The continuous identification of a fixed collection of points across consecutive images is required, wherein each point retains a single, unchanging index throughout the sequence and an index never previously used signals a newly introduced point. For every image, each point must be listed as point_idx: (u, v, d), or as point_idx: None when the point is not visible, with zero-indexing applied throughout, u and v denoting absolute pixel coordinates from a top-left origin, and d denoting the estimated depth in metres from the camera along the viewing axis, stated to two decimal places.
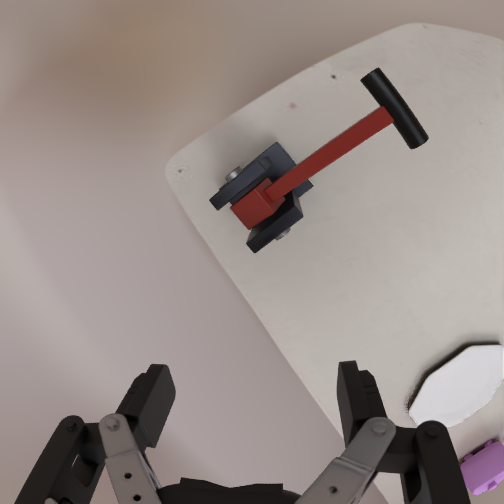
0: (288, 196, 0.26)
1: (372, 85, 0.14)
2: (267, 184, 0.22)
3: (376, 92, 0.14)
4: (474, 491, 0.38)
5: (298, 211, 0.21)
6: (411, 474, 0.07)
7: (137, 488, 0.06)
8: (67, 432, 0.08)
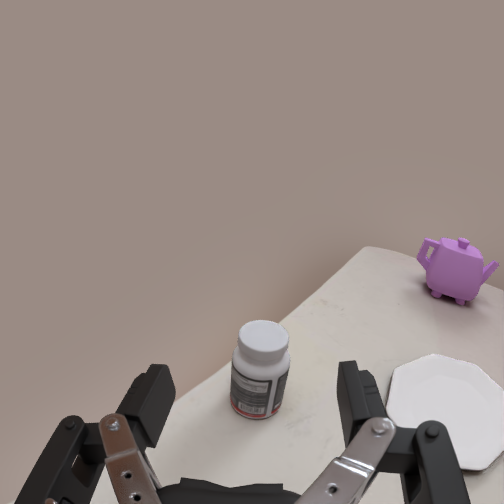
0: None
1: None
2: None
3: None
4: (481, 256, 0.50)
5: None
6: (411, 474, 0.07)
7: (137, 488, 0.06)
8: (67, 432, 0.08)
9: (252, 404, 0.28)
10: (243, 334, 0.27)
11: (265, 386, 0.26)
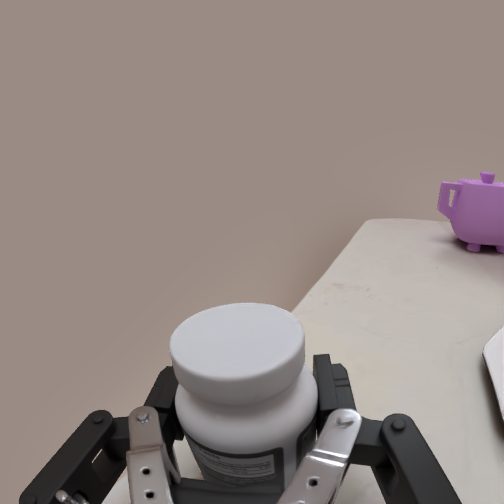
0: None
1: None
2: None
3: None
4: None
5: None
6: (384, 467, 0.08)
7: (152, 485, 0.06)
8: (94, 427, 0.09)
9: None
10: (180, 341, 0.10)
11: (267, 463, 0.09)
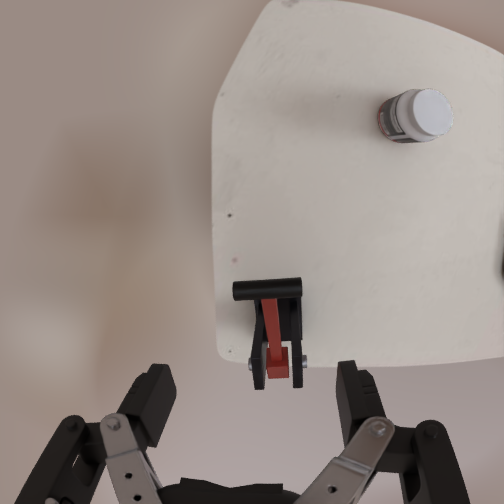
0: None
1: None
2: (270, 353, 0.30)
3: None
4: None
5: (296, 356, 0.28)
6: (410, 474, 0.08)
7: (138, 488, 0.06)
8: (68, 432, 0.08)
9: (386, 124, 0.29)
10: (422, 94, 0.22)
11: (399, 130, 0.27)
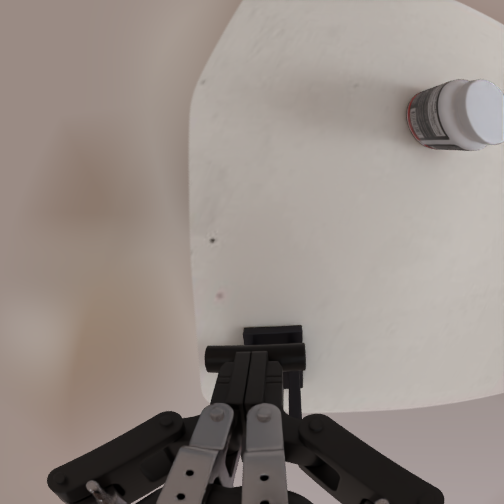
0: None
1: None
2: None
3: None
4: None
5: None
6: (316, 467, 0.09)
7: (188, 488, 0.06)
8: (158, 428, 0.09)
9: (419, 123, 0.21)
10: (477, 87, 0.13)
11: (440, 133, 0.18)
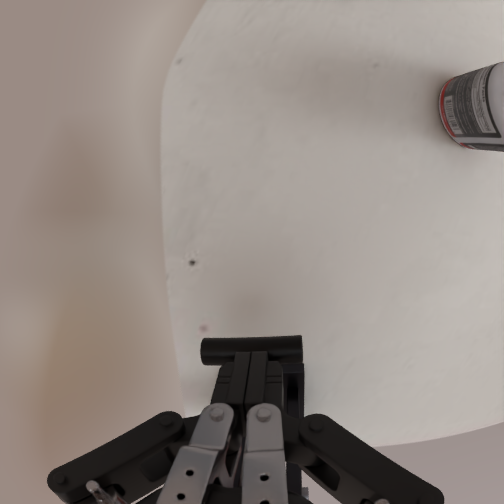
0: None
1: (214, 362, 0.14)
2: None
3: (223, 363, 0.14)
4: None
5: None
6: (316, 467, 0.09)
7: (188, 488, 0.06)
8: (158, 428, 0.09)
9: (458, 115, 0.15)
10: None
11: (489, 129, 0.12)
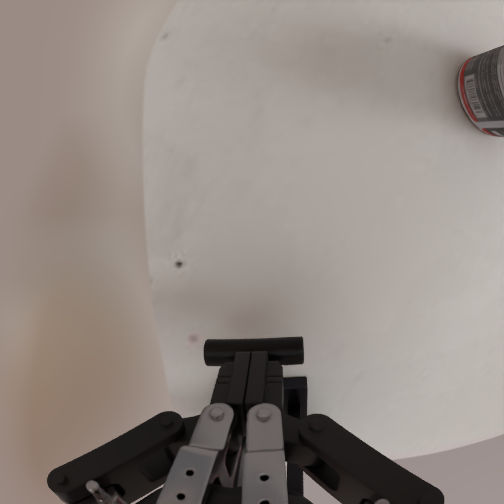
0: (287, 468, 0.16)
1: (216, 359, 0.15)
2: None
3: (225, 360, 0.15)
4: None
5: None
6: (316, 467, 0.09)
7: (188, 488, 0.06)
8: (158, 429, 0.09)
9: (482, 96, 0.12)
10: None
11: None
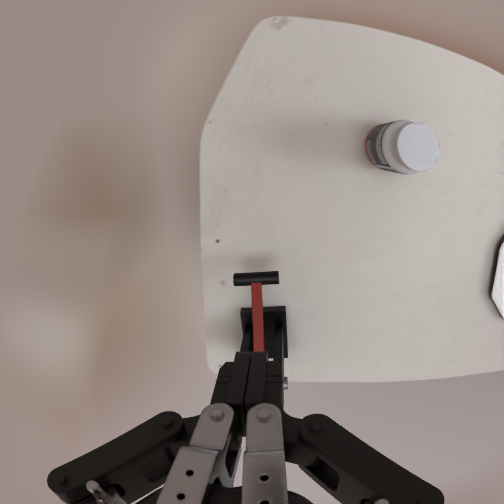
0: (274, 350, 0.35)
1: (239, 281, 0.34)
2: None
3: (243, 281, 0.34)
4: None
5: None
6: (316, 467, 0.09)
7: (188, 488, 0.06)
8: (158, 428, 0.09)
9: (372, 153, 0.31)
10: (408, 129, 0.23)
11: (384, 162, 0.28)
